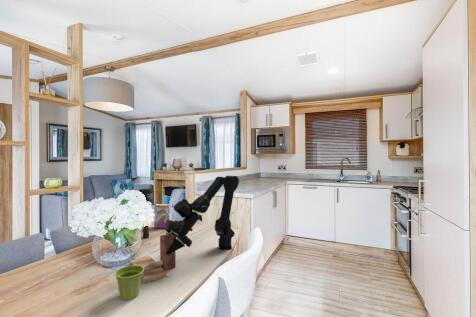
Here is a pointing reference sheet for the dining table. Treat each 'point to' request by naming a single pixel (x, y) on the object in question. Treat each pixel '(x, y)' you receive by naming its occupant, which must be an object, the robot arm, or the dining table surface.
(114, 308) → the dining table surface
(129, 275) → the plant pot
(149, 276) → the board
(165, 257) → the upright wooden block
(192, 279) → the dining table surface
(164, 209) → the candy bar box
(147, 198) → the stick grenade
